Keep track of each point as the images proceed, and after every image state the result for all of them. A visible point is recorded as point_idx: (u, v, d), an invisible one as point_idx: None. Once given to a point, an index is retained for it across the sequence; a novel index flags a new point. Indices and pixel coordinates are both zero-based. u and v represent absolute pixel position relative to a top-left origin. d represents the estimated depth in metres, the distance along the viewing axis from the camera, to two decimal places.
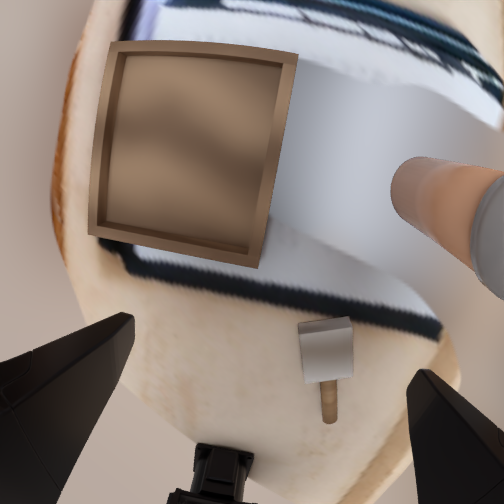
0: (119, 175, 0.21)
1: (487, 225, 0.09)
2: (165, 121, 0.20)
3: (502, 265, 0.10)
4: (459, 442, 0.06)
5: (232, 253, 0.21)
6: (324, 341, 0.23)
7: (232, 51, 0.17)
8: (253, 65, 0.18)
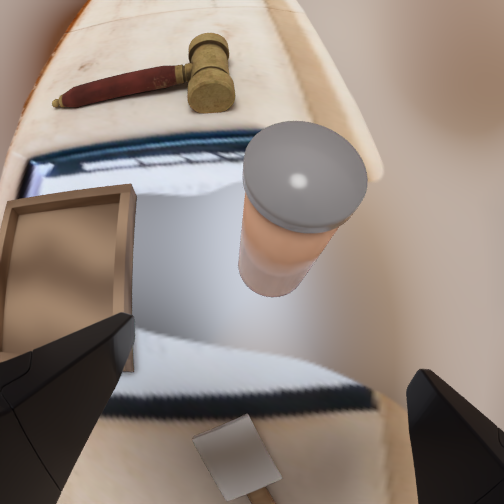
0: (11, 311, 0.20)
1: (244, 166, 0.13)
2: (43, 261, 0.22)
3: (285, 191, 0.13)
4: (459, 442, 0.06)
5: None
6: (224, 441, 0.18)
7: (85, 194, 0.23)
8: (103, 205, 0.24)
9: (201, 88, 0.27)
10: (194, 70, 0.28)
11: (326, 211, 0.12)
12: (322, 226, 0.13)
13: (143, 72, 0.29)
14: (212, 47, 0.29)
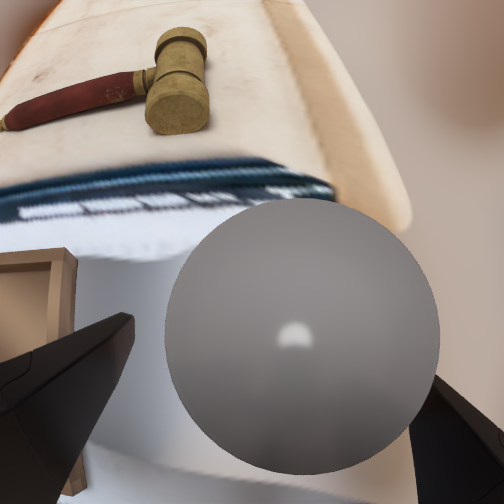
0: None
1: (166, 341, 0.05)
2: None
3: (259, 408, 0.05)
4: (459, 442, 0.06)
5: None
6: None
7: (12, 259, 0.16)
8: (37, 273, 0.17)
9: (161, 102, 0.19)
10: (156, 77, 0.21)
11: (349, 445, 0.05)
12: (336, 463, 0.05)
13: (94, 82, 0.21)
14: (183, 45, 0.22)
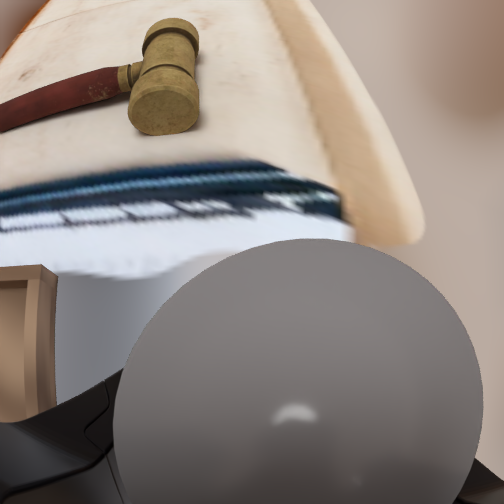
0: None
1: (116, 448, 0.03)
2: None
3: None
4: None
5: None
6: None
7: None
8: (15, 290, 0.15)
9: (145, 99, 0.17)
10: (141, 71, 0.18)
11: None
12: None
13: (76, 79, 0.19)
14: (172, 37, 0.19)
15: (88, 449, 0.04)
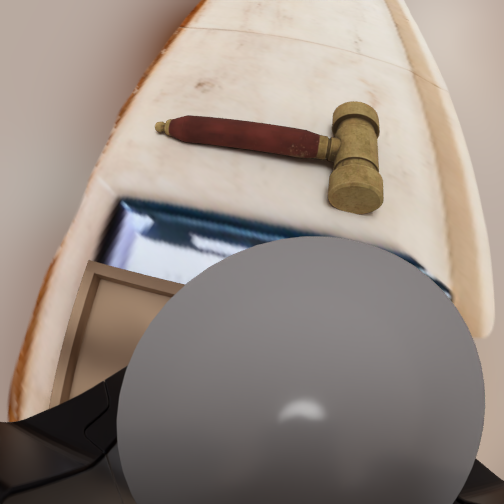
0: None
1: (120, 445, 0.03)
2: (130, 354, 0.21)
3: None
4: None
5: None
6: None
7: None
8: None
9: (351, 188, 0.24)
10: (343, 154, 0.25)
11: None
12: None
13: (280, 131, 0.26)
14: (366, 127, 0.26)
15: (88, 450, 0.04)
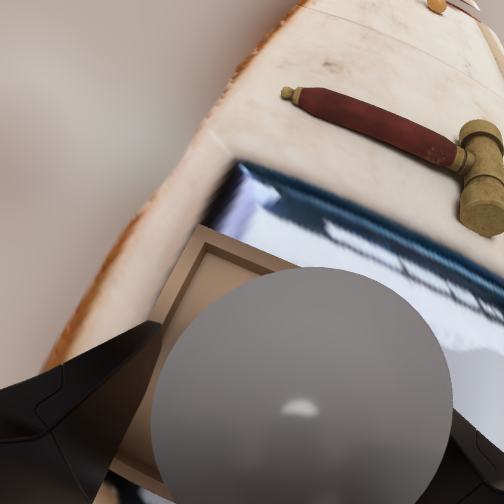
0: (151, 401, 0.15)
1: (153, 440, 0.04)
2: None
3: None
4: None
5: None
6: None
7: None
8: None
9: (489, 206, 0.18)
10: (479, 170, 0.20)
11: None
12: None
13: (422, 130, 0.21)
14: (497, 148, 0.20)
15: (35, 424, 0.04)
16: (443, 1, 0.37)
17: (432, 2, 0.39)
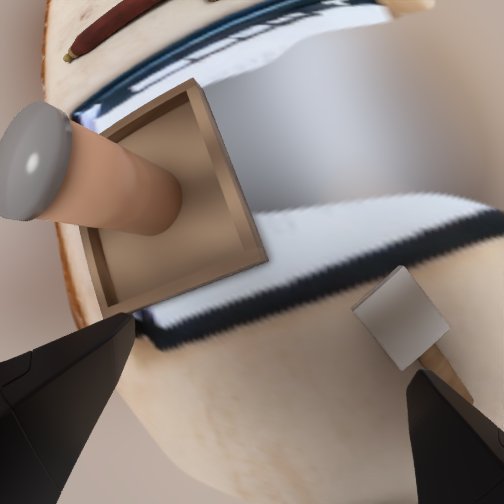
0: (114, 257, 0.23)
1: None
2: None
3: (15, 195, 0.11)
4: (459, 442, 0.06)
5: (230, 260, 0.20)
6: (386, 302, 0.18)
7: (148, 108, 0.22)
8: (172, 111, 0.22)
9: None
10: None
11: (38, 177, 0.10)
12: (49, 187, 0.11)
13: None
14: None
15: None
16: None
17: None
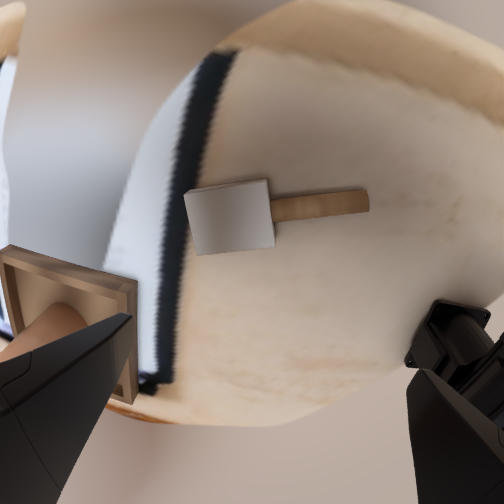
0: None
1: None
2: None
3: None
4: (459, 442, 0.06)
5: (118, 311, 0.22)
6: (205, 226, 0.20)
7: (6, 292, 0.23)
8: (15, 275, 0.24)
9: None
10: None
11: None
12: None
13: None
14: None
15: None
16: None
17: None
